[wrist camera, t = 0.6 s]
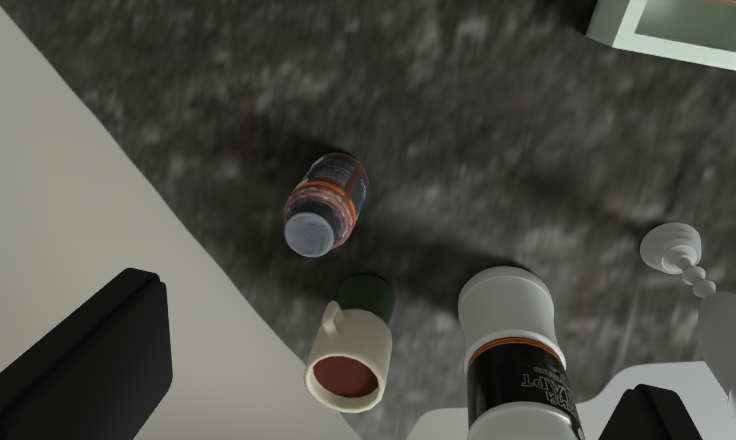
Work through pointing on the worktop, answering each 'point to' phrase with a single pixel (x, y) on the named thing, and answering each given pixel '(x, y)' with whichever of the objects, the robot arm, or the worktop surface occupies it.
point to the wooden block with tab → (721, 2)
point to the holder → (668, 29)
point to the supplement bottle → (325, 204)
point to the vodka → (514, 360)
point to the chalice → (716, 311)
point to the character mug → (353, 346)
